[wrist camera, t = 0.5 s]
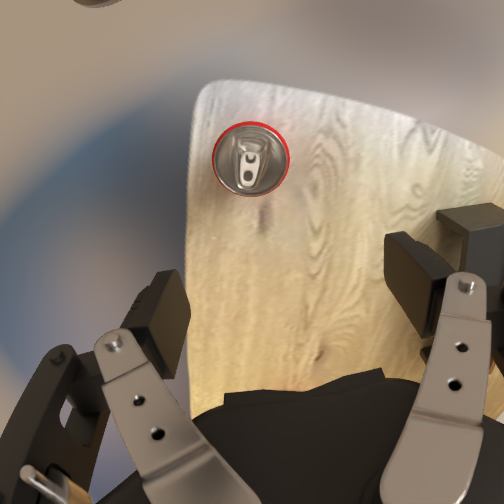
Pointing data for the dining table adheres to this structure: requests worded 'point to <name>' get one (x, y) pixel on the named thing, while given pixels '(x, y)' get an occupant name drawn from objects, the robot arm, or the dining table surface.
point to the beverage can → (250, 159)
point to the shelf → (477, 245)
